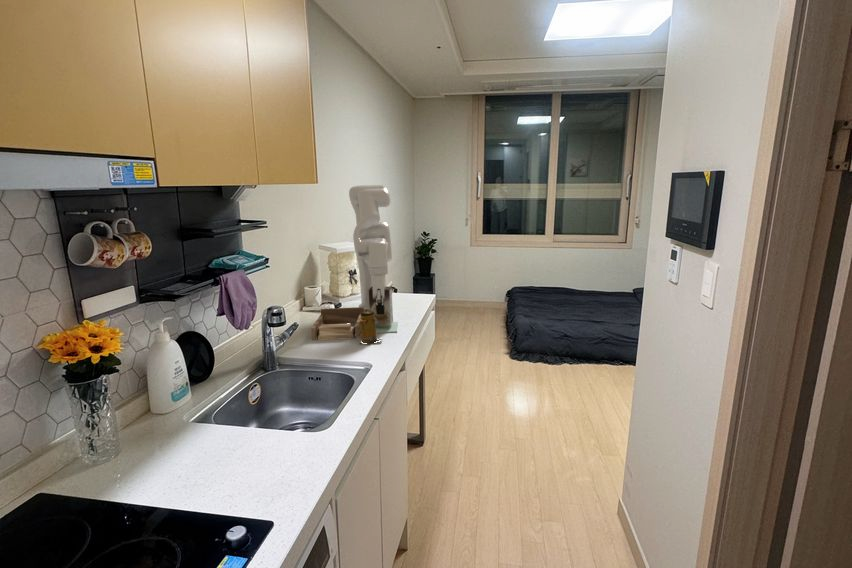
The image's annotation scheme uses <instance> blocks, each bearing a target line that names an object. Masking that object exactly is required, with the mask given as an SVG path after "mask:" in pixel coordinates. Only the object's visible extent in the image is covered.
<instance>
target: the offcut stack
mask: <svg viewBox="0 0 852 568" xmlns="http://www.w3.org/2000/svg"><path fill="white" fill-rule="evenodd" d="M354 327H355V326H352V324H351V323H350V324H327V325H320V327H319V335H318V337H317V339H318V340H319V341H320V340H322V339H324V340H340V339H339V338H347V339H354V338H353V337H355V333H354Z"/></svg>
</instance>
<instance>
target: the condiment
mask: <svg viewBox="0 0 852 568" xmlns="http://www.w3.org/2000/svg"><path fill="white" fill-rule="evenodd" d="M360 327H361V335H360V341H361V340H362V342H363V343H367V344H366V345H376V344H382V342H383V339H379V340H382V341H380V342H377V343H374V342H376V341H379V340H377V338H380V337H378V336H377V333H376V320H375V318H374V312H373V311H370V310H364V311H362V312H361V319H360Z"/></svg>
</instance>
